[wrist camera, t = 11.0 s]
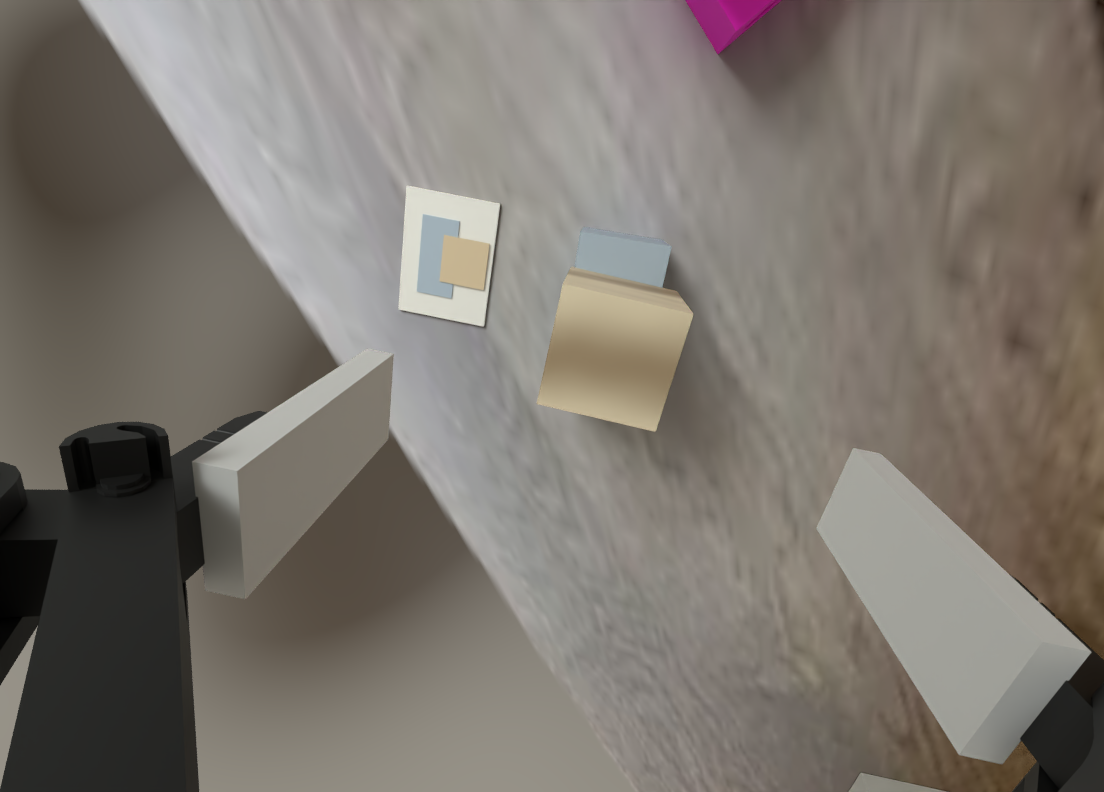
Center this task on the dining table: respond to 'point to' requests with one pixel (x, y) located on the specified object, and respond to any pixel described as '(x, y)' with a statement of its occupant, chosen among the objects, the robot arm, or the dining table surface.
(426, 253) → the tile
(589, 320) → the maple cube
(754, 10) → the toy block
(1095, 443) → the dining table surface
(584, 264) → the blue brick
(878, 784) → the tray
